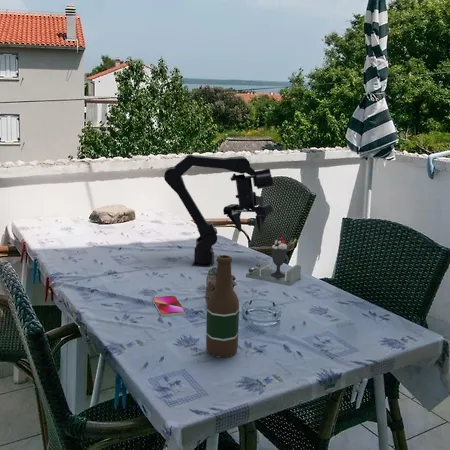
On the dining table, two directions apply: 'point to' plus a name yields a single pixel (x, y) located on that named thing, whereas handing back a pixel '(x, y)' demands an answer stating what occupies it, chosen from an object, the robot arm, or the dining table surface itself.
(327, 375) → the dining table surface
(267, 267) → the vise
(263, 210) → the robot arm
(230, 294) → the beer bottle
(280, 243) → the sundae
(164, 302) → the smartphone
